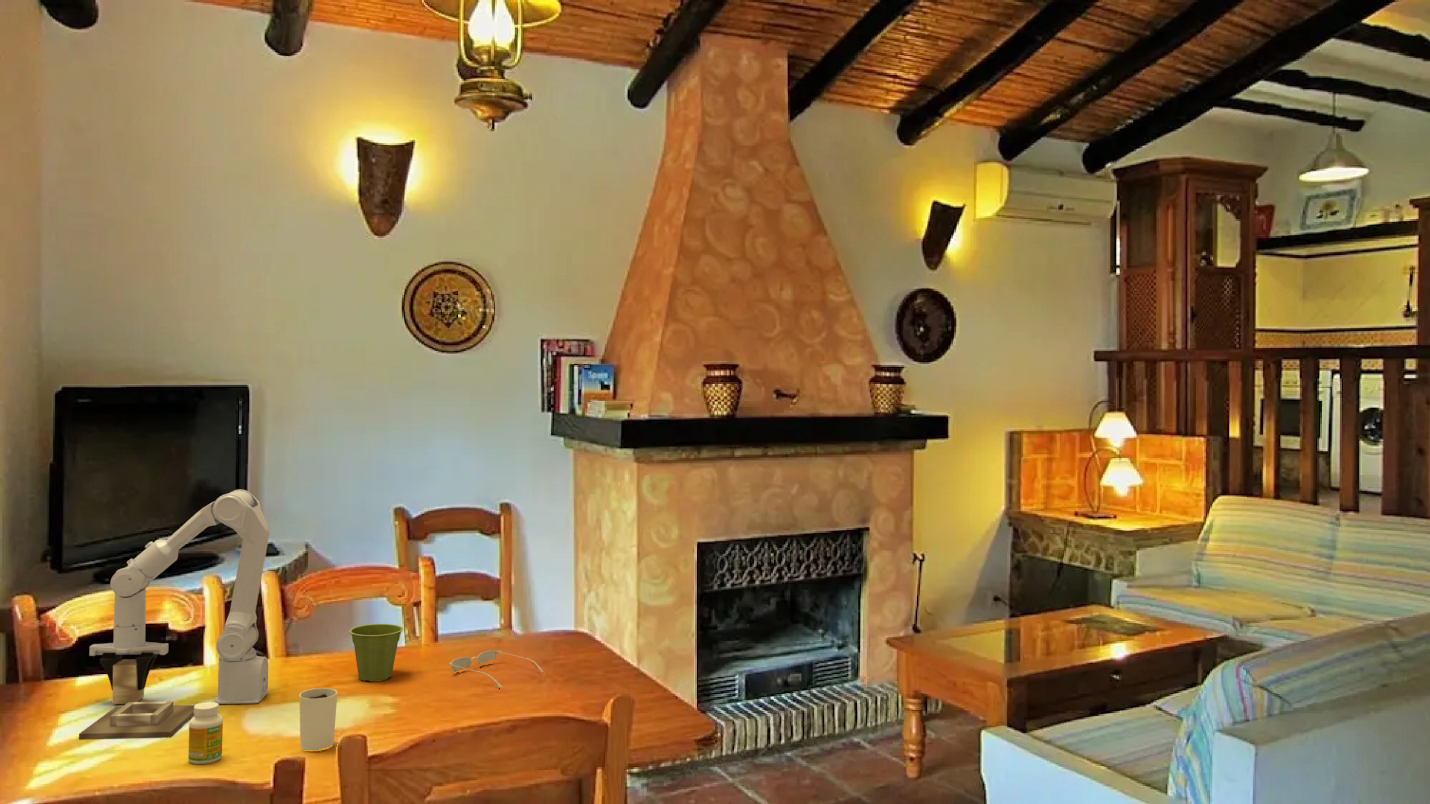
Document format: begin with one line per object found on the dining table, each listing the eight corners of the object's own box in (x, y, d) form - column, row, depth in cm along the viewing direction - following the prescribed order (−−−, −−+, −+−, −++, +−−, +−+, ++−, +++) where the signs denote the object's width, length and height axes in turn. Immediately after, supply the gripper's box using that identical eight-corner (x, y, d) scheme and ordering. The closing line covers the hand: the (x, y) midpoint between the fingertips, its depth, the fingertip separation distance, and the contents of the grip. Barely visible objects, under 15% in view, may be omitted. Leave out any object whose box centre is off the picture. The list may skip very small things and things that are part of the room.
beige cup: (304, 740, 192) (305, 687, 191) (340, 740, 192) (341, 688, 192) (292, 753, 185) (294, 699, 185) (330, 753, 186) (331, 699, 185)
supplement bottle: (208, 766, 178) (209, 711, 177) (181, 763, 179) (182, 708, 179) (228, 755, 183) (229, 702, 183) (202, 752, 184) (203, 699, 184)
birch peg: (143, 697, 213) (144, 659, 213) (135, 703, 208) (136, 665, 208) (121, 697, 212) (122, 659, 212) (112, 704, 208) (113, 665, 208)
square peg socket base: (200, 709, 207) (200, 695, 207) (170, 737, 191) (170, 721, 191) (115, 711, 204) (116, 696, 204) (78, 739, 189) (79, 723, 189)
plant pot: (413, 676, 234) (414, 628, 234) (371, 688, 224) (372, 638, 224) (379, 667, 241) (380, 620, 240) (336, 679, 231) (338, 630, 230)
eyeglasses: (497, 664, 248) (497, 648, 248) (549, 678, 238) (550, 661, 238) (447, 677, 236) (447, 660, 236) (500, 693, 225) (500, 675, 225)
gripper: (83, 629, 205) (81, 695, 205) (159, 628, 207) (158, 694, 207) (98, 620, 212) (97, 685, 212) (172, 620, 214) (171, 683, 214)
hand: (128, 689), depth 210 cm, fingers closed on birch peg, 4 cm apart
